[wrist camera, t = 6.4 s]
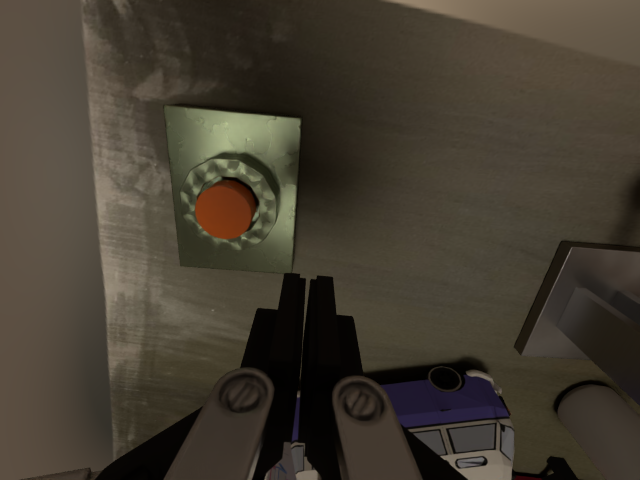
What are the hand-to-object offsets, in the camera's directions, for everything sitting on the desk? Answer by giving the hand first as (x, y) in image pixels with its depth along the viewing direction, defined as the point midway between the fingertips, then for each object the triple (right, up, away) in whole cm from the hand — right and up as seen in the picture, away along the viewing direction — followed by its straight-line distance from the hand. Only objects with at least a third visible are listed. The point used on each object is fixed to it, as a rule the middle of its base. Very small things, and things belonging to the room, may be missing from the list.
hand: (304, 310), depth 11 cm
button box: (-6, +6, +14) cm, 16 cm away
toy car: (+8, -15, +24) cm, 29 cm away
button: (-6, +5, +11) cm, 13 cm away
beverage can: (+30, -16, +24) cm, 42 cm away
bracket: (+25, -3, +19) cm, 32 cm away
